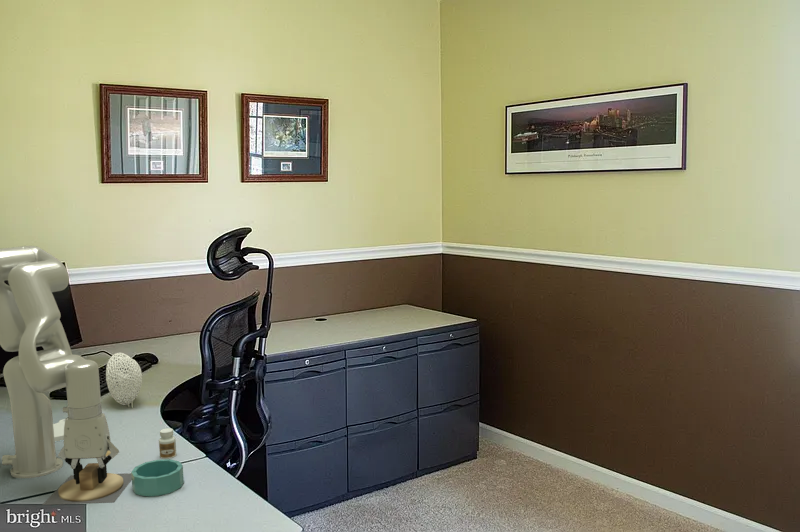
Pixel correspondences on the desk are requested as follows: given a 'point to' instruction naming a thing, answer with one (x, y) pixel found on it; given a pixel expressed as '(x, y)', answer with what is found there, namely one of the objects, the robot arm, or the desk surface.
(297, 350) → the desk surface
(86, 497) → the lid
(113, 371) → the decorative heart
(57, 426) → the mounting plate
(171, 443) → the pill bottle
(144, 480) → the bowl
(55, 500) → the mat
